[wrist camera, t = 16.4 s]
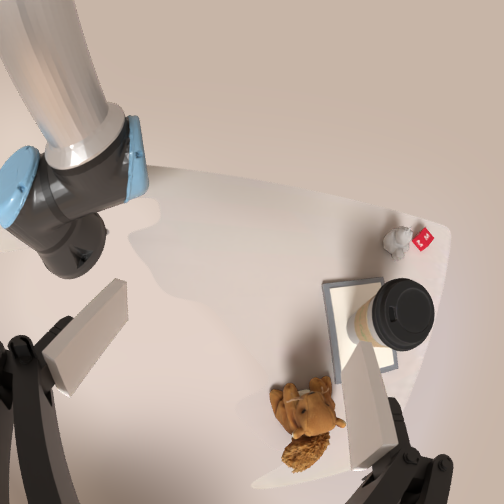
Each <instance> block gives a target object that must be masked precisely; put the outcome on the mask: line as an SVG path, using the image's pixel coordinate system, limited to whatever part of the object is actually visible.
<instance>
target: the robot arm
mask: <svg viewBox="0 0 504 504" xmlns="http://www.w3.org/2000/svg"><path fill="white" fill-rule="evenodd" d="M0 57H1V59H2V62H3V63H4V66H5V68H6V70H7V72H8V73H9V76H10V77H11V79H12V81H13V83H14V85H15V87H16V89H17V91H18V93H19V95H20V96H21V98H22V100H23V102H24V103H25V105H26V107H27V109H28V110H29V112H30V113H31V115H32V117H33V119H34V120H35V122H36V124H37V125H38V127H39V129H40V130H41V132H42V133H43V135H44V136H45V138H46V139H47V144H46V148H45V152H44V153H42V154H40V153H39V151H38V149H36V148H34V147H33V146H25V147H22V148H21V149H19V150H18V151H16V152H15V153H14V154H13V155H12V156H11V157H10V158H9V159H8V160H7V161H6V162H5V164H4V165H3V166H2V168H1V169H0V225H1V226H2V227H3V228H4V229H6V230H7V231H9V232H10V233H11V234H13V235H14V236H16V237H17V238H18V239H20V240H21V241H22V242H24V243H25V244H27V245H28V246H30V247H31V248H32V249H34V250H35V251H37V253H38V254H39V256H40V257H41V259H42V260H43V262H44V264H45V266H46V268H47V269H48V270H49V271H50V272H52V273H53V274H55V275H57V276H58V277H60V278H63V279H74V278H77V277H80V276H82V275H83V274H85V273H86V272H88V271H89V270H90V269H91V268H92V267H93V266H94V265H95V263H96V262H97V261H98V259H99V257H100V255H101V253H102V251H103V248H104V245H105V240H106V229H105V225H104V222H103V220H102V218H101V217H100V216H99V214H98V213H97V212H99V211H102V210H105V209H107V208H111V207H113V206H116V205H119V204H122V203H126V202H128V201H129V200H131V199H134V198H136V197H139V196H141V195H143V194H144V193H145V192H146V191H147V190H148V187H149V179H148V173H147V166H146V160H145V153H144V147H143V141H142V134H141V127H140V121H139V118H138V116H131V115H129V116H127V117H125V114H124V112H123V110H122V108H121V107H120V106H119V105H117V104H115V103H112V102H107V101H106V99H105V96H104V93H103V91H102V88H101V85H100V83H99V80H98V77H97V74H96V71H95V68H94V65H93V63H92V60H91V56H90V53H89V50H88V47H87V44H86V41H85V38H84V34H83V31H82V28H81V24H80V21H79V17H78V14H77V10H76V6H75V3H74V0H0ZM127 321H128V308H127V282H125V281H122V280H119V279H116V278H115V279H114V280H113V281H112V282H111V283H110V284H109V285H108V286H106V287H105V288H104V289H103V290H102V291H101V292H100V293H99V294H98V295H97V296H96V297H95V298H94V299H93V300H92V301H91V302H90V303H89V304H88V305H87V306H86V307H85V308H84V309H83V310H82V311H81V312H80V313H79V314H78V315H77V316H76V317H75V318H73V317H71V316H66V317H64V318H62V319H60V320H59V321H58V322H57V323H56V324H55V325H54V327H52V328H51V329H50V330H49V332H47V333H46V334H45V335H44V336H43V337H42V338H41V339H40V340H39V341H38V342H37V343H36V344H35V346H33V343H32V341H31V339H30V338H29V337H27V336H25V335H19V336H15V337H14V338H12V339H11V340H10V341H9V344H8V348H9V350H6V349H5V348H4V346H3V344H2V343H1V341H0V504H9V463H10V450H11V449H10V448H11V440H12V431H13V424H14V427H15V438H16V446H17V453H18V458H19V465H20V470H21V475H22V479H23V484H24V488H25V492H26V496H27V500H28V504H80V503H79V500H78V498H77V495H76V492H75V489H74V486H73V483H72V480H71V476H70V473H69V470H68V466H67V463H66V459H65V455H64V451H63V447H62V443H61V438H60V433H59V428H58V423H57V417H56V410H55V404H54V397H53V391H52V387H53V386H54V384H55V385H56V387H57V389H58V391H59V392H61V393H63V394H64V395H66V396H68V397H71V396H72V395H73V393H74V392H75V391H76V389H77V388H78V386H79V385H80V384H81V382H82V381H83V379H84V378H85V377H86V375H87V374H88V372H89V371H90V370H91V368H92V367H93V366H94V364H95V363H96V362H97V360H98V358H99V357H100V356H101V355H102V353H103V352H104V351H105V349H106V348H107V347H108V345H109V344H110V343H111V341H112V340H113V339H114V337H115V336H116V335H117V334H118V332H119V331H120V330H121V329H122V327H123V326H124V325H125V323H126V322H127ZM340 374H341V381H342V388H343V396H344V404H345V412H346V420H347V430H348V440H349V450H350V462H351V471H363V470H367V469H368V468H369V467H371V466H372V469H373V471H372V472H371V473H370V474H368V475H367V476H365V477H364V478H363V479H362V480H365V481H364V482H363V483H362V484H361V486H360V487H359V488H358V489H357V490H356V492H355V493H354V494H353V495H352V497H351V498H350V499H349V500H348V501H347V502H346V503H345V504H447V500H448V496H449V491H450V485H451V479H452V473H453V462H452V460H451V458H450V457H449V456H447V455H445V454H440V455H438V456H437V457H435V458H434V459H431V458H427V457H422V456H421V455H420V453H419V451H417V450H416V449H415V448H413V447H411V445H410V443H409V438H408V434H407V430H406V426H405V422H404V418H403V416H402V411H401V407H400V405H399V403H398V402H397V400H396V399H395V398H393V397H387V393H386V390H385V386H384V382H383V379H382V375H381V372H380V368H379V365H378V362H377V358H376V355H375V352H374V349H373V345H372V342H366V341H359V343H358V344H357V346H356V348H355V350H354V351H353V353H352V355H351V357H350V358H349V360H348V362H347V363H346V365H345V367H344V368H343V370H342V372H341V373H340Z"/></svg>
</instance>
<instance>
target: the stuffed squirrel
mask: <svg viewBox="0 0 504 504" xmlns="http://www.w3.org/2000/svg"><path fill="white" fill-rule="evenodd" d="M309 388H310V390H308V389H307V390H301V391H298V390H297V388H296V386H295V385H294V384H293V383H287V384H286V385H285V387H284V389H283V391H280V390H276V389H273V390H272V391H271V392H270V402H271V405H272V408H273V412H274V414H275V417H276V418H277V419H278V421H279V422H280V423H281V424H282V426H283V427H284V428H285V430H286V431H287V432H288V433H290V434H291V435H292V442H291V443H290V444H289V445H288V446H287V447H286V448H285V451H284V452H283V455H282V457H281V458H282V461H283V462H284V463H285V464H286V465H288V466H289V467H292V468H294V470H293V471H292V472H293V473H295V472H297V473H298V472H299V471H300V472H302V471H303V470H306V469H307V468H310V466H311V465H313V464H314V463H315V462H316V461H318V459H320V456H322V455H323V452H324V451H325V450H326V448H327V446H328V445H330V443H329V439H330V436H329V431H330V430H332V429H333V428H334V427H335V425H337V426H338V427H341V428H344V427H345V426H346V422H345V421H344V420H342V419H340V418H337V417H336V413H335V411H334V409H335V403H334V401H333V400H332V398H331V393H332V384H331V379H330V377H328V376H324V377H323V378H321V379H319V378H317V377H314V378H313V379H311V380H310V382H309Z"/></svg>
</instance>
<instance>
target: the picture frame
mask: <svg viewBox="0 0 504 504" xmlns="http://www.w3.org/2000/svg"><path fill="white" fill-rule="evenodd" d="M384 284H385V283H384V278H383V277H377V278H369V279H361V280H353V281H344V282H335V283H326V284H322V291H323V297H324V303H325V310H326V316H327V323H328V330H329V338H330V345H331V353H332V362H333V370H334V379H335V384H340V383H342V381H341V374H340V373H341V372H342V370H343V368H344V367H345V365H346V363H347V362H348V360H349V358H350V357H351V355H352V353H353V351H354V350H355V348H356V346H357V344H354V343H353V342H352V341H351V340H350V339H349V337H348V335H347V328H346V327H347V322H348V319H349V318H350V316H351V315H352V314H354V313H355V312H356V311H357V310H358V309H359V308H360V307H361V306H362V305H363V304H365V303H366V302H367V301H368V300H370V299H371V298H372V297H373V296H374V295H376V294H377V292H378V290H379V289H380V288H381V287H382V286H383V285H384ZM373 349H374V352H375V355H376V358H377V362H378V365H379V368H380V372H381V373H384V372H388V371H391V370H395V369H398V361H397V353H396V350H393V349H391V348H385V347H373Z"/></svg>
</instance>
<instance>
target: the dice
mask: <svg viewBox="0 0 504 504" xmlns="http://www.w3.org/2000/svg"><path fill="white" fill-rule="evenodd" d="M433 239H434V237H433V236H432V235H431V233H430V232H429V231H428V230H427V229H426V228H424V229H423V230H421V231H420V232H419V233H418V234H417V235H416V236H415V238H414V239H413V240H412V242H413V243H414V244H415V245H416V247H417V248H418V249H419V250H420V251H422V250H424V249H425V248H426V247H428V246H429V244H430V243H431V242H432V240H433Z"/></svg>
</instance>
